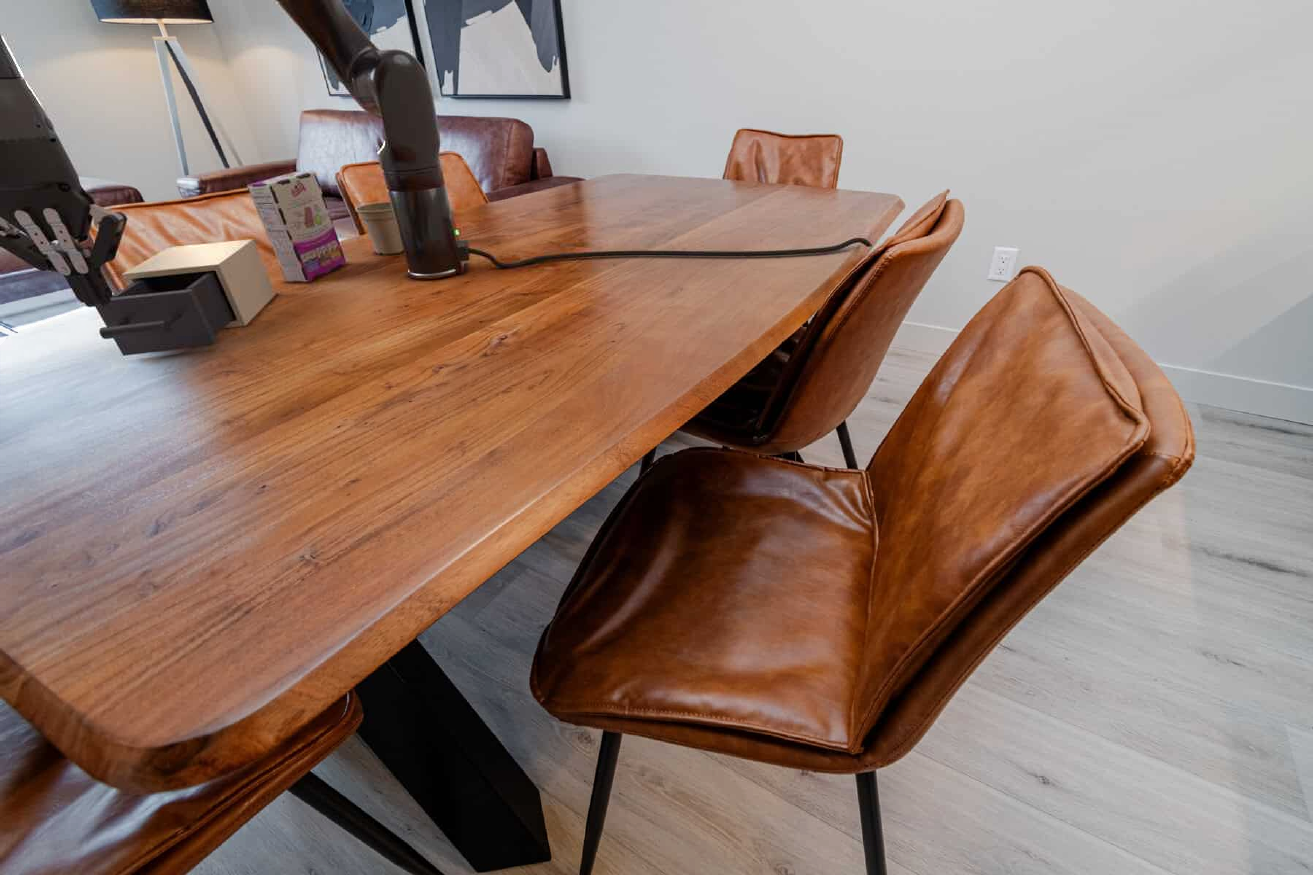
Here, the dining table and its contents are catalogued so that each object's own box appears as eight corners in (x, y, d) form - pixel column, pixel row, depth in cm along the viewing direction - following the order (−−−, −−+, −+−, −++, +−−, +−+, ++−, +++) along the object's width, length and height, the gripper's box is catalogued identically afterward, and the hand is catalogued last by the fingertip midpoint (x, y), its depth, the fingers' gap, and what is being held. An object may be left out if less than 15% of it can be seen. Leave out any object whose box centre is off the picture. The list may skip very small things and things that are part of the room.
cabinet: (245, 325, 88) (218, 264, 83) (154, 336, 86) (121, 274, 81) (275, 294, 100) (253, 238, 95) (196, 303, 98) (169, 247, 93)
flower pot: (406, 242, 126) (395, 199, 122) (425, 249, 120) (414, 204, 116) (361, 252, 121) (347, 207, 116) (379, 260, 115) (365, 213, 110)
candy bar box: (324, 264, 115) (292, 171, 106) (347, 264, 114) (317, 171, 105) (283, 282, 106) (244, 183, 97) (307, 283, 105) (270, 183, 96)
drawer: (199, 359, 76) (171, 304, 72) (102, 372, 74) (68, 316, 70) (248, 310, 91) (228, 262, 87) (169, 319, 89) (144, 271, 85)
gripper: (-107, 143, 54) (11, 323, 64) (58, 133, 57) (149, 308, 66) (-45, 135, 61) (54, 300, 70) (102, 126, 63) (179, 287, 72)
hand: (100, 304), depth 68 cm, fingers closed
